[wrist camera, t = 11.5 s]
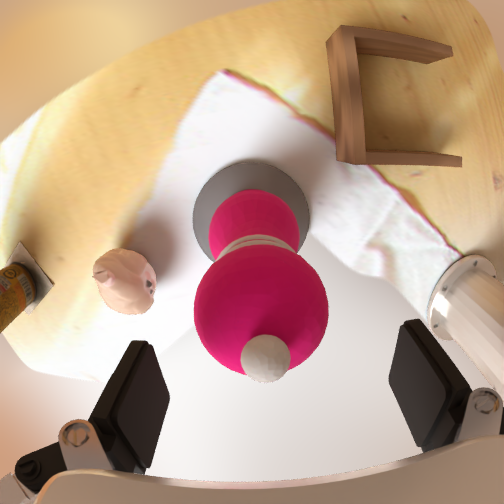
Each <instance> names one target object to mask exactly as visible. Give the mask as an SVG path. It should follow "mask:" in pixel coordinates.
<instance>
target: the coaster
mask: <svg viewBox="0 0 504 504" xmlns="http://www.w3.org/2000/svg"><path fill="white" fill-rule="evenodd" d="M247 189H258V190H263V191H265V192H269V193H271V194H274V195H276V196H277V197H279V198H281V199H282V200H283V201H284V202H285V203H286V204H287V205H288V206H289V207H290V209H291V210H292V211H293V213H294V215H295V217H296V220H297V224H298V227H299V233H300V241H299V246H298V251H299V250H300V248H301V246H302V245H303V243H304V241H305V239H306V235H307V232H308V227H309V210H308V206H307V202H306V199H305V197H304V195H303V193H302V191H301V189H300V188H299V186H298V185H297V184H296V183H295V182H294V181H293V180H292V179H291V178H290V177H289V176H288V175H287V174H285V173H284V172H283V171H281V170H279V169H277V168H275V167H273V166H270V165H267V164H263V163H255V162H249V163H240V164H236V165H232V166H230V167H227V168H225V169H223V170H221V171H220V172H218V173H217V174H215V175H214V176H213V177H212V178H211V179H210V180H209V181H208V182H207V183H206V184H205V185H204V187H203V188H202V190H201V191H200V193H199V195H198V197H197V200H196V202H195V206H194V211H193V228H194V233H195V236H196V239H197V241H198V243H199V245H200V247H201V249H202V250H203V252H204V253H205V254H206V255H207V256H208V258H209V259H210V260H212V261H213V262H214V263H215V261H216V260H215V259H214V257H213V255H212V253H211V250H210V247H209V240H208V236H209V226H210V223H211V219H212V217H213V215H214V213H215V211H216V209H217V208H218V207H219V206H220V204H222V203H223V202H224V201H225V200H226V199H228V198H229V197H231V196H232V195H234V194H236V193H238V192H240V191H243V190H247ZM298 251H297V253H298Z"/></svg>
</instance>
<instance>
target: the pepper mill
mask: <svg viewBox="0 0 504 504" xmlns="http://www.w3.org/2000/svg"><path fill="white" fill-rule="evenodd" d="M208 240H209V247H210V250H211V253H212V255H213V257H214V259H215V260H216V261H215V263H213V264H212V265H211V267H210V268H209V269H208V271H207V272H206V273H205V275H204V276H203V278H202V280H201V282H200V284H199V286H198V288H197V292H196V296H195V301H194V322H195V326H196V330H197V332H198V335H199V337H200V340H201V342H202V343H203V345H204V347H205V348H206V349H207V351H208V352H209V353H210V354H211V355H212V356H213V357H214V358H215V359H216V360H217V361H218V362H220V363H221V364H222V365H224V366H226V367H227V368H229V369H230V370H233V371H235V372H238V373H241V374H244V375H248V376H249V377H250V378H251V379H253V380H254V381H258V382H264V383H268V382H274V381H276V380H278V379H280V378H281V377H282V376H283V375H284V374H285V373H286V372H287V370H290V369H292V368H294V367H296V366H298V365H300V364H301V363H302V362H304V361H305V360H306V359H307V358H308V357H309V356H310V355H311V354H312V353H313V351H315V349H316V348H317V347H318V346H319V344H320V342H321V340H322V338H323V336H324V334H325V330H326V327H327V323H328V316H329V315H328V300H327V296H326V291H325V288H324V286H323V284H322V281H321V279H320V277H319V276H318V274H317V272H316V271H315V270H314V269H313V268H312V267H311V266H310V265H309V264H308V263H307V262H306V261H305V260H304V259H303V258H302V257H301V256H300V255H298V254H297V251H298V246H299V241H300V233H299V227H298V224H297V220H296V217H295V215H294V213H293V211H292V210H291V209H290V207H289V206H288V205H287V204H286V203H285V202H284V201H283V200H282V199H281V198H279V197H277V196H276V195H274V194H271V193H269V192H265V191H263V190H258V189H247V190H243V191H240V192H238V193H236V194H234V195H232V196H231V197H229V198H228V199H226V200H225V201H224V202H223V203H222V204H220V206H219V207H218V208H217V209H216V211H215V213H214V215H213V217H212V219H211V223H210V226H209V236H208Z"/></svg>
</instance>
